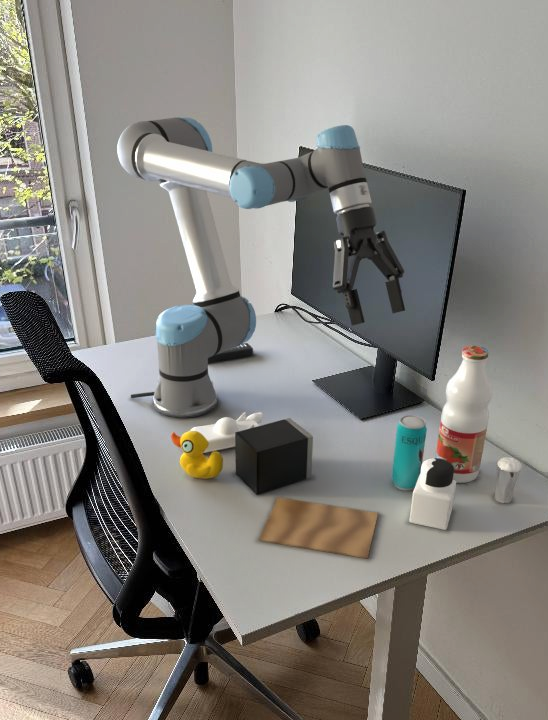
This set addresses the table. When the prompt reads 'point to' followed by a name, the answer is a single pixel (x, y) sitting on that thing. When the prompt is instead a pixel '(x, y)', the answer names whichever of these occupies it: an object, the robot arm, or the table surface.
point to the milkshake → (506, 478)
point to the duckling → (197, 455)
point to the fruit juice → (466, 416)
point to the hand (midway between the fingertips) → (379, 318)
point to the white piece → (227, 430)
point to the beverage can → (408, 452)
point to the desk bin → (273, 455)
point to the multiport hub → (233, 353)
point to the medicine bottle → (433, 494)
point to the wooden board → (320, 527)
